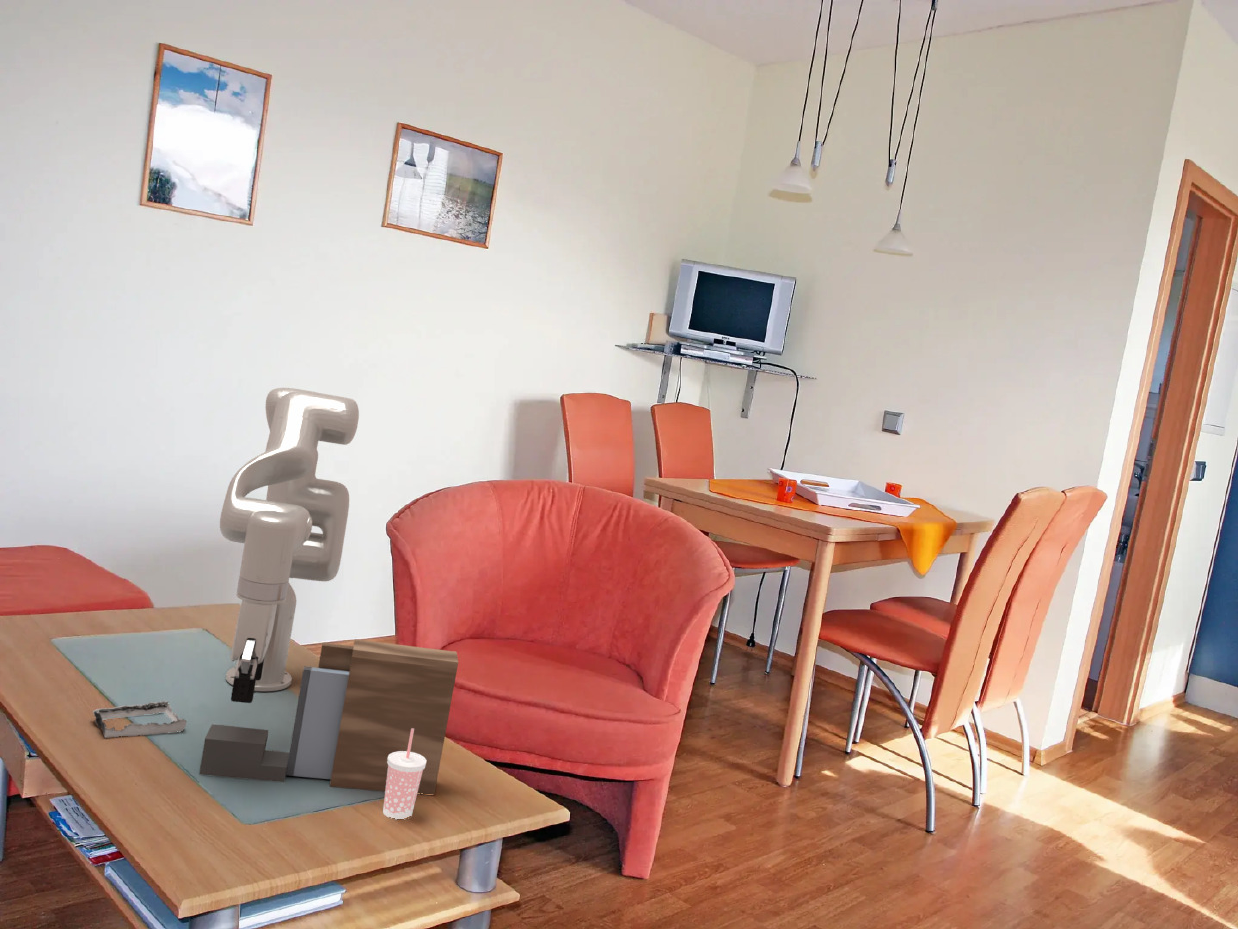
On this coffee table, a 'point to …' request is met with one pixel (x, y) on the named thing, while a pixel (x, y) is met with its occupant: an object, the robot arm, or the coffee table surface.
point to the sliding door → (317, 722)
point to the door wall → (390, 709)
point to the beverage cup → (402, 782)
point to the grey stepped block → (241, 754)
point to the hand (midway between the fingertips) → (246, 690)
